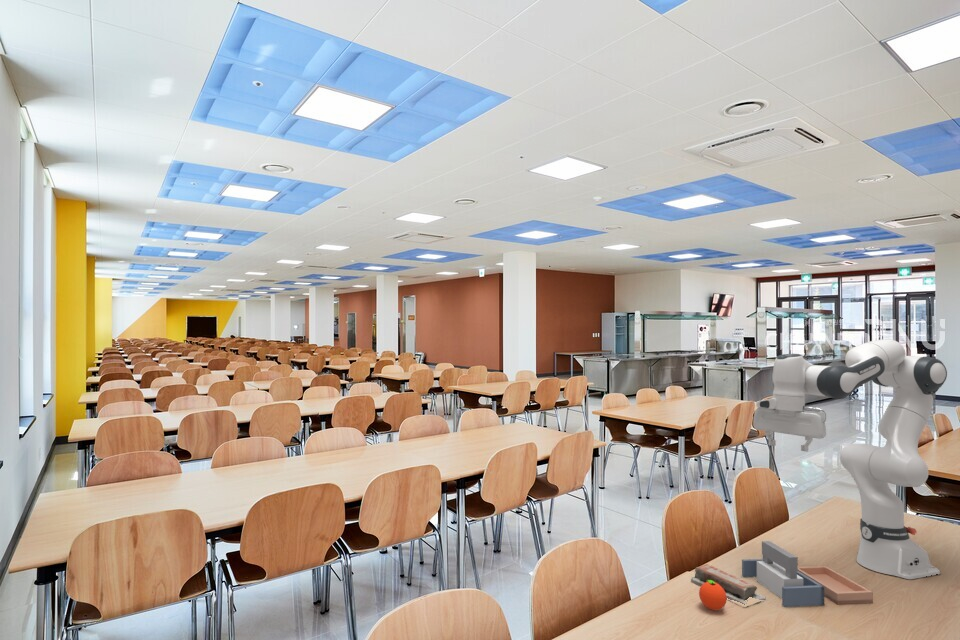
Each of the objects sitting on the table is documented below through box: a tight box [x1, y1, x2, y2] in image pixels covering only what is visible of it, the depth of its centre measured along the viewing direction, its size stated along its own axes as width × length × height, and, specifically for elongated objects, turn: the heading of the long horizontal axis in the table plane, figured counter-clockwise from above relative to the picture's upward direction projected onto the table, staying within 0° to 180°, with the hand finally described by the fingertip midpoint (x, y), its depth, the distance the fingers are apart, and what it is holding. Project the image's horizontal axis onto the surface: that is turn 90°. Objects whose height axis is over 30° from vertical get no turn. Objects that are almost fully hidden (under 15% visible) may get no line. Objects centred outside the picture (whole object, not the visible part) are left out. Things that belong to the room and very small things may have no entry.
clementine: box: [698, 580, 728, 611], centre depth 141 cm, size 8×7×7 cm
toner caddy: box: [756, 540, 803, 600], centre depth 152 cm, size 6×12×12 cm, turn 7°
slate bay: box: [741, 558, 825, 608], centre depth 152 cm, size 12×19×5 cm, turn 6°
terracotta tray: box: [798, 565, 874, 606], centre depth 153 cm, size 11×17×3 cm, turn 6°
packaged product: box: [690, 564, 767, 605], centre depth 151 cm, size 18×5×10 cm
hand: (788, 448), depth 163 cm, fingers open, 8 cm apart
